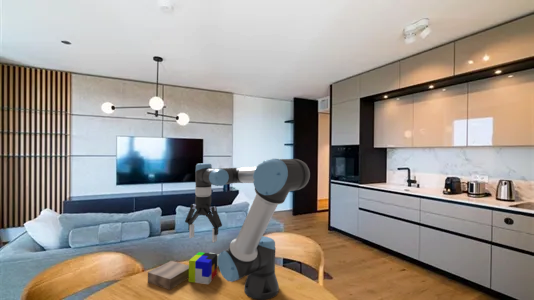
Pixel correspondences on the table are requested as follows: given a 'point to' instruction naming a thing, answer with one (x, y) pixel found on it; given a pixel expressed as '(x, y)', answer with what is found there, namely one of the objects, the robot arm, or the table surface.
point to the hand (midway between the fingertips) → (202, 239)
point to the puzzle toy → (202, 268)
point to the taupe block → (169, 274)
